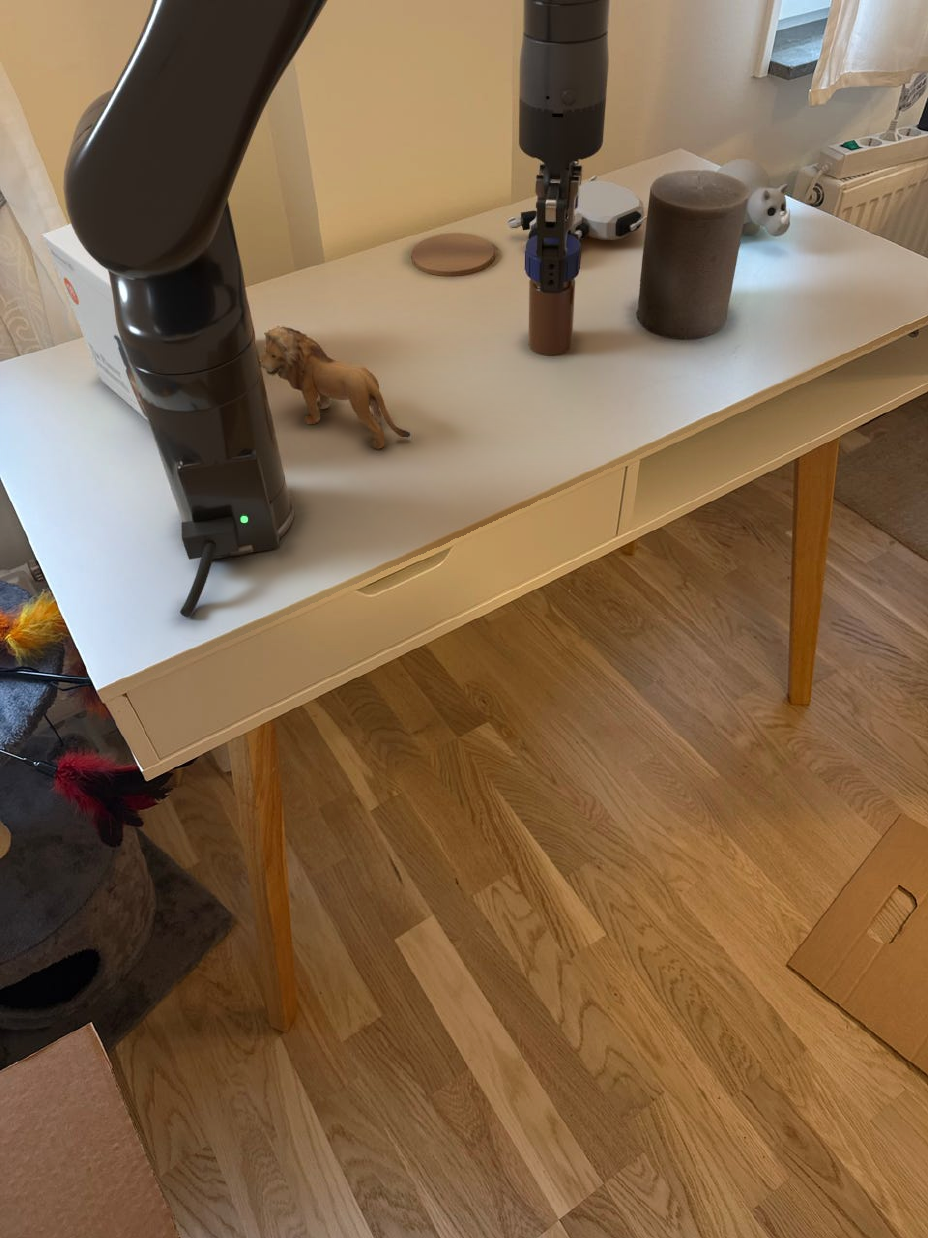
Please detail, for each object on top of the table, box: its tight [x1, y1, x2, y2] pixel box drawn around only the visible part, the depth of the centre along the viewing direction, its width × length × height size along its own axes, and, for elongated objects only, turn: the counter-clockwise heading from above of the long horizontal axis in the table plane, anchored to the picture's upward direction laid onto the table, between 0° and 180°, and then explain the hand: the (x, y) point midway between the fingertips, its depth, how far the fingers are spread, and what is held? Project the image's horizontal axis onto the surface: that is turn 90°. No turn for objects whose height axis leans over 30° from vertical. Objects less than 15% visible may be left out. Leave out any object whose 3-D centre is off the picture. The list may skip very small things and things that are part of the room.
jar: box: [527, 278, 576, 356], centre depth 95 cm, size 5×5×9 cm
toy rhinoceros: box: [716, 158, 791, 237], centre depth 110 cm, size 7×12×8 cm, turn 29°
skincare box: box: [42, 223, 148, 422], centre depth 86 cm, size 21×5×16 cm, turn 42°
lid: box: [524, 234, 582, 283], centre depth 91 cm, size 5×5×3 cm
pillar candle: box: [636, 169, 751, 340], centre depth 96 cm, size 10×10×15 cm
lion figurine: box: [259, 325, 412, 450], centre depth 87 cm, size 15×5×9 cm, turn 66°
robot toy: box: [507, 175, 647, 241], centre depth 113 cm, size 12×4×15 cm
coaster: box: [411, 232, 495, 277], centre depth 113 cm, size 10×10×1 cm
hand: (555, 276), depth 93 cm, fingers closed on lid, 5 cm apart
